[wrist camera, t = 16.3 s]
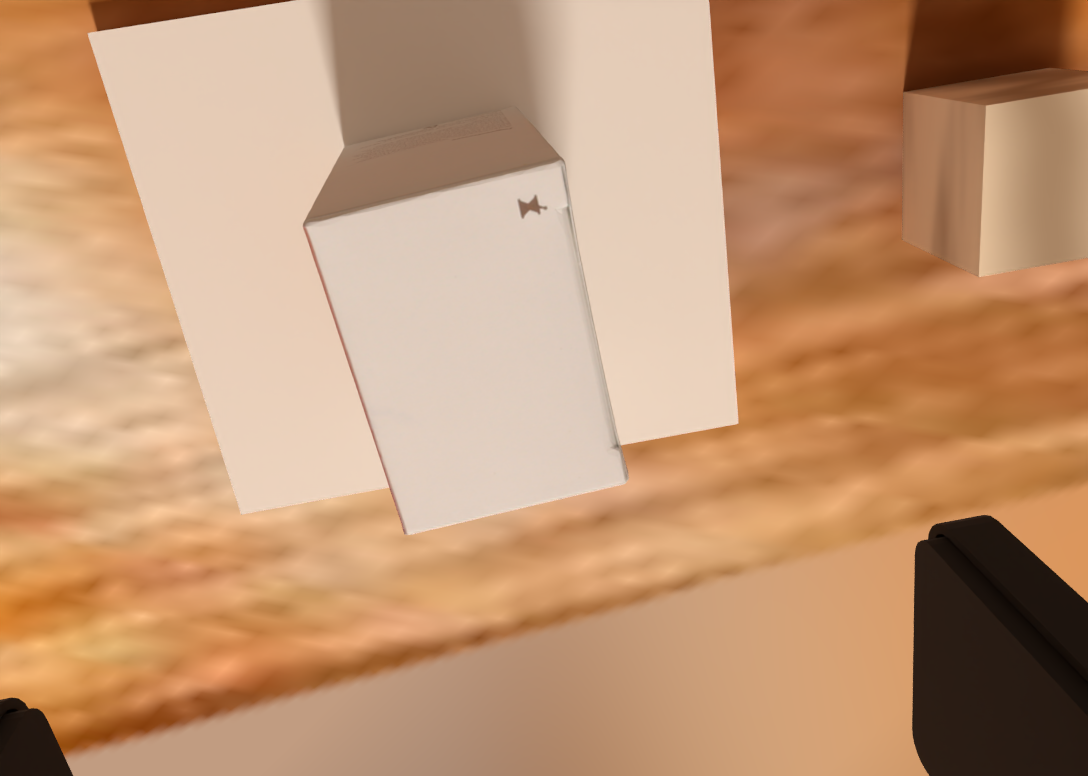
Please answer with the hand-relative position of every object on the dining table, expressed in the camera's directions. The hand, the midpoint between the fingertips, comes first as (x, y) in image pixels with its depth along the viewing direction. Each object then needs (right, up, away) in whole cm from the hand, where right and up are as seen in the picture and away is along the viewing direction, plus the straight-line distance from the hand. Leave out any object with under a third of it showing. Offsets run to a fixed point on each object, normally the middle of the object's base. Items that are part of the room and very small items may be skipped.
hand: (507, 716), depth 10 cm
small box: (-2, +8, +20) cm, 22 cm away
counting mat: (-3, +8, +21) cm, 22 cm away
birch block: (+15, +11, +21) cm, 29 cm away
